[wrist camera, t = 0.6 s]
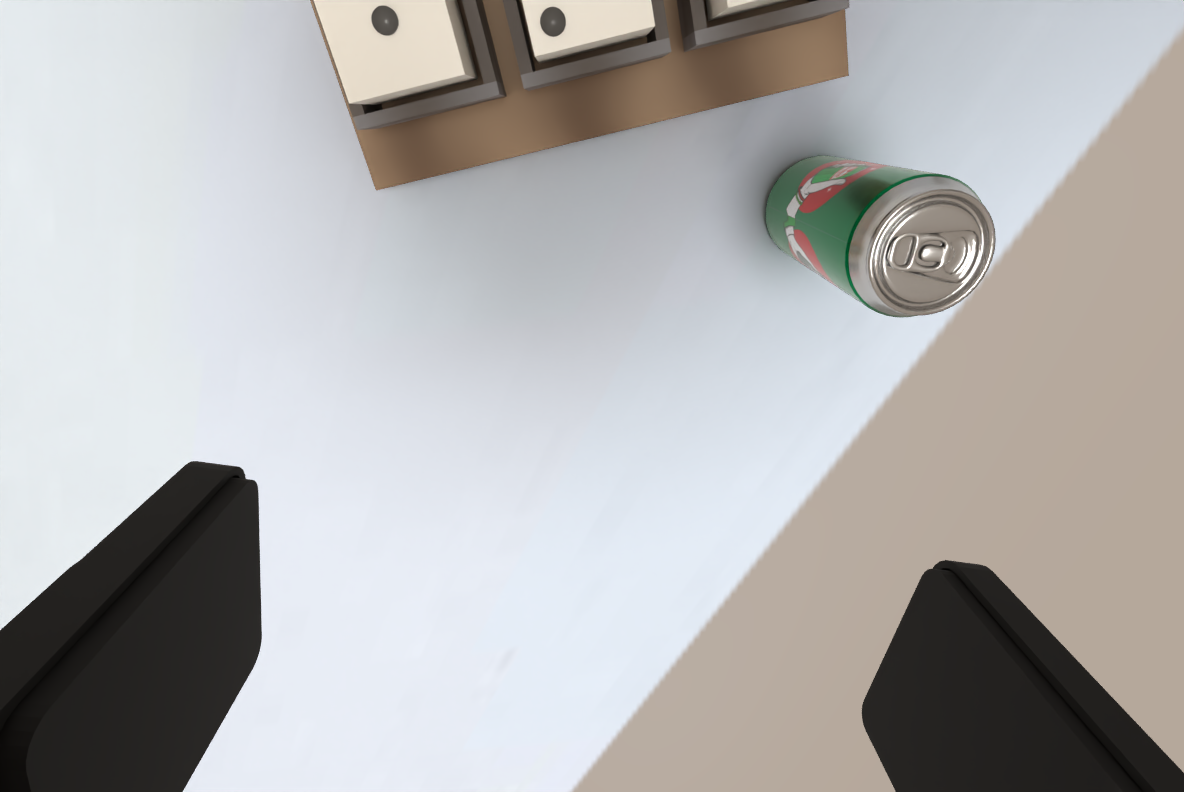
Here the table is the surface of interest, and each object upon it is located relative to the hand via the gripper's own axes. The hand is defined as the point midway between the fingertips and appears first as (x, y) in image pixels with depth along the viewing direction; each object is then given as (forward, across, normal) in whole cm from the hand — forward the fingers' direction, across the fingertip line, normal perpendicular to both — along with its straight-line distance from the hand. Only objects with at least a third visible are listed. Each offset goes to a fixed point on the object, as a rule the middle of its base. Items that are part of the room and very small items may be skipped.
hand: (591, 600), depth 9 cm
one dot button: (+22, +8, -8) cm, 25 cm away
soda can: (+26, -12, -4) cm, 29 cm away
